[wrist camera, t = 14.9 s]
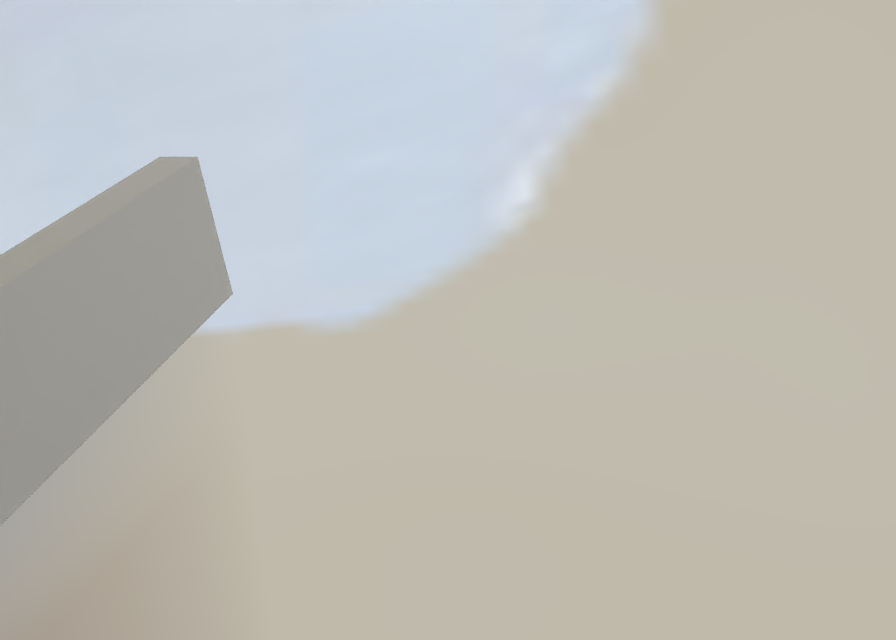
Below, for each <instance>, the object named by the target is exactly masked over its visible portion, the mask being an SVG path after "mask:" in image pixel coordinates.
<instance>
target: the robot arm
mask: <svg viewBox="0 0 896 640" xmlns="http://www.w3.org/2000/svg"><path fill="white" fill-rule="evenodd" d="M232 294H233V293H232V289H231V285H230V281H229V277H228V273H227V270H226V266H225V262H224V258H223V254H222V250H221V246H220V242H219V239H218V235H217V231H216V227H215V223H214V219H213V215H212V211H211V208H210V204H209V200H208V196H207V192H206V188H205V184H204V180H203V177H202V173H201V169H200V165H199V161H198V157H159V158H157V159H156V160H154V161H153V162H151V163H149V164H148V165H146V166H144V167H143V168H141V169H140V170H138V171H136V172H135V173H133V174H131V175H130V176H128V177H127V178H125V179H123V180H122V181H120V182H118V183H117V184H115V185H114V186H112V187H110V188H109V189H107V190H106V191H104V192H102V193H101V194H99V195H97V196H96V197H94V198H93V199H91V200H89V201H88V202H86V203H84V204H83V205H81V206H80V207H78V208H76V209H75V210H73V211H71V212H70V213H68V214H67V215H65V216H63V217H62V218H60V219H58V220H57V221H55V222H54V223H52V224H50V225H49V226H47V227H45V228H44V229H42V230H41V231H39V232H37V233H36V234H34V235H33V236H31V237H29V238H28V239H26V240H24V241H23V242H21V243H20V244H18V245H16V246H15V247H13V248H11V249H10V250H8V251H7V252H5V253H3V254H2V255H0V526H1V525H2V524H3V523H4V521H6V520H7V519H8V518H9V517H10V516H11V515H12V514H13V513H14V512H15V511H16V510H17V509H18V508H19V507H20V506H21V505H22V503H24V502H25V501H26V500H27V499H28V498H29V497H30V495H32V494H33V493H34V492H35V491H36V490H37V489H38V488H39V487H40V486H41V485H42V484H43V483H44V482H45V481H46V480H47V479H48V478H49V477H50V476H51V475H52V474H53V473H54V472H55V471H56V470H57V469H58V468H59V467H60V466H61V465H62V464H63V463H64V462H65V461H66V460H67V459H68V458H69V457H70V456H71V455H72V454H73V453H74V452H75V450H77V449H78V448H79V447H80V446H81V445H82V444H83V443H84V442H85V441H86V440H87V439H88V438H89V437H90V436H91V435H92V434H93V433H94V432H95V431H96V430H97V429H98V428H99V427H100V426H101V425H102V424H103V423H104V422H105V421H106V420H107V419H108V418H109V417H110V416H111V415H112V414H113V413H114V412H115V411H116V410H117V409H118V408H119V407H120V406H121V405H122V404H123V403H124V402H125V401H126V400H127V399H128V398H129V397H130V396H131V395H132V394H133V393H134V392H135V391H136V390H137V389H138V388H139V387H140V386H141V385H142V384H143V383H144V382H145V381H146V380H147V379H148V378H149V377H150V376H151V375H152V374H153V373H154V372H155V371H156V370H157V369H158V368H159V367H160V366H161V365H162V364H163V363H164V362H165V361H166V360H167V359H168V358H169V357H170V356H171V355H172V354H173V353H174V352H175V351H176V350H177V349H178V348H179V347H180V346H181V345H182V344H183V343H184V342H185V341H186V340H187V339H188V338H189V337H190V336H191V335H192V334H193V333H194V332H195V331H196V330H197V329H198V328H199V327H200V326H201V325H202V324H203V323H204V322H205V321H206V320H207V319H208V318H209V317H210V316H211V315H212V314H213V313H214V312H215V311H216V310H217V309H218V308H219V307H220V306H221V305H222V304H223V303H224V302H225V301H226V300H227V299H228V298H229V297H230V296H231V295H232Z"/></svg>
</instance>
